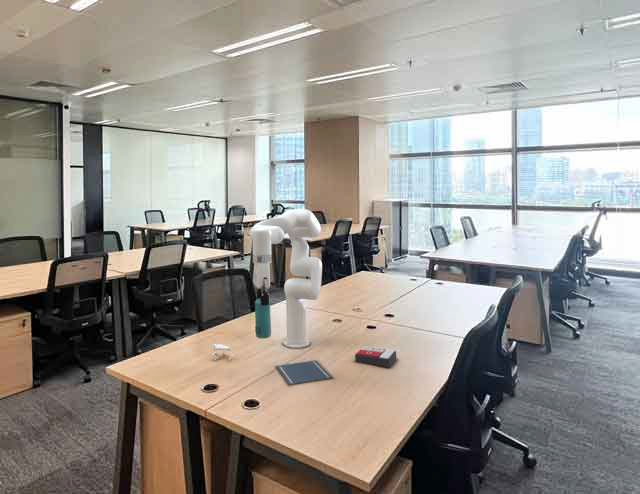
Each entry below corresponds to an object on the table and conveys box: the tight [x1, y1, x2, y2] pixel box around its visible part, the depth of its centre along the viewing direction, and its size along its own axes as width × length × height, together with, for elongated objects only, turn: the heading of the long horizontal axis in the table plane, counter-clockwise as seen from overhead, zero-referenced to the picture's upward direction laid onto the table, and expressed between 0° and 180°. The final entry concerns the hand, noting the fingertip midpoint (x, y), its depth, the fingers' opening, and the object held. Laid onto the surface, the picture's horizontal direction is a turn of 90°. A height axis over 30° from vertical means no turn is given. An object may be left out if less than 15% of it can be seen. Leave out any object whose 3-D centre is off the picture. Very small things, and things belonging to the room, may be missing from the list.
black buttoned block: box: [354, 345, 397, 369], centre depth 186 cm, size 11×4×15 cm
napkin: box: [275, 360, 333, 386], centre depth 174 cm, size 18×18×1 cm
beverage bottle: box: [254, 289, 272, 340], centre depth 172 cm, size 6×7×20 cm
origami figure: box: [211, 343, 234, 362], centre depth 189 cm, size 12×8×5 cm
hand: (262, 302), depth 172 cm, fingers closed on beverage bottle, 6 cm apart
